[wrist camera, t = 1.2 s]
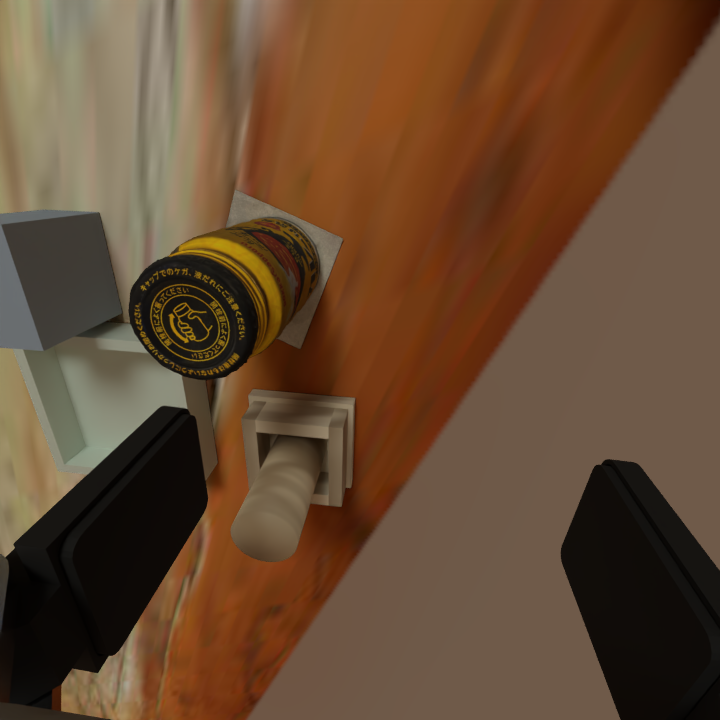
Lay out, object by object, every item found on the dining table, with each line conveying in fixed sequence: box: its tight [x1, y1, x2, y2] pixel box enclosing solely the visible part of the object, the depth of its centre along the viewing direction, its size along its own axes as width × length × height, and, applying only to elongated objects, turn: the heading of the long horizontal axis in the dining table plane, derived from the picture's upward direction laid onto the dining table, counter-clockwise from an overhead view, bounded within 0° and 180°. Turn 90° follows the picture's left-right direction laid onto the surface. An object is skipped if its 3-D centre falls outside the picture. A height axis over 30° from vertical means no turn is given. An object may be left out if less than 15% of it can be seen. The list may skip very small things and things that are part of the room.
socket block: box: [241, 389, 355, 507], centre depth 31 cm, size 8×8×4 cm
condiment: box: [129, 190, 343, 380], centre depth 22 cm, size 7×8×12 cm
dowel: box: [231, 434, 327, 562], centre depth 27 cm, size 4×4×9 cm
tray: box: [13, 322, 218, 481], centre depth 31 cm, size 12×12×3 cm
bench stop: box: [0, 210, 122, 351], centre depth 25 cm, size 4×7×7 cm, turn 178°
